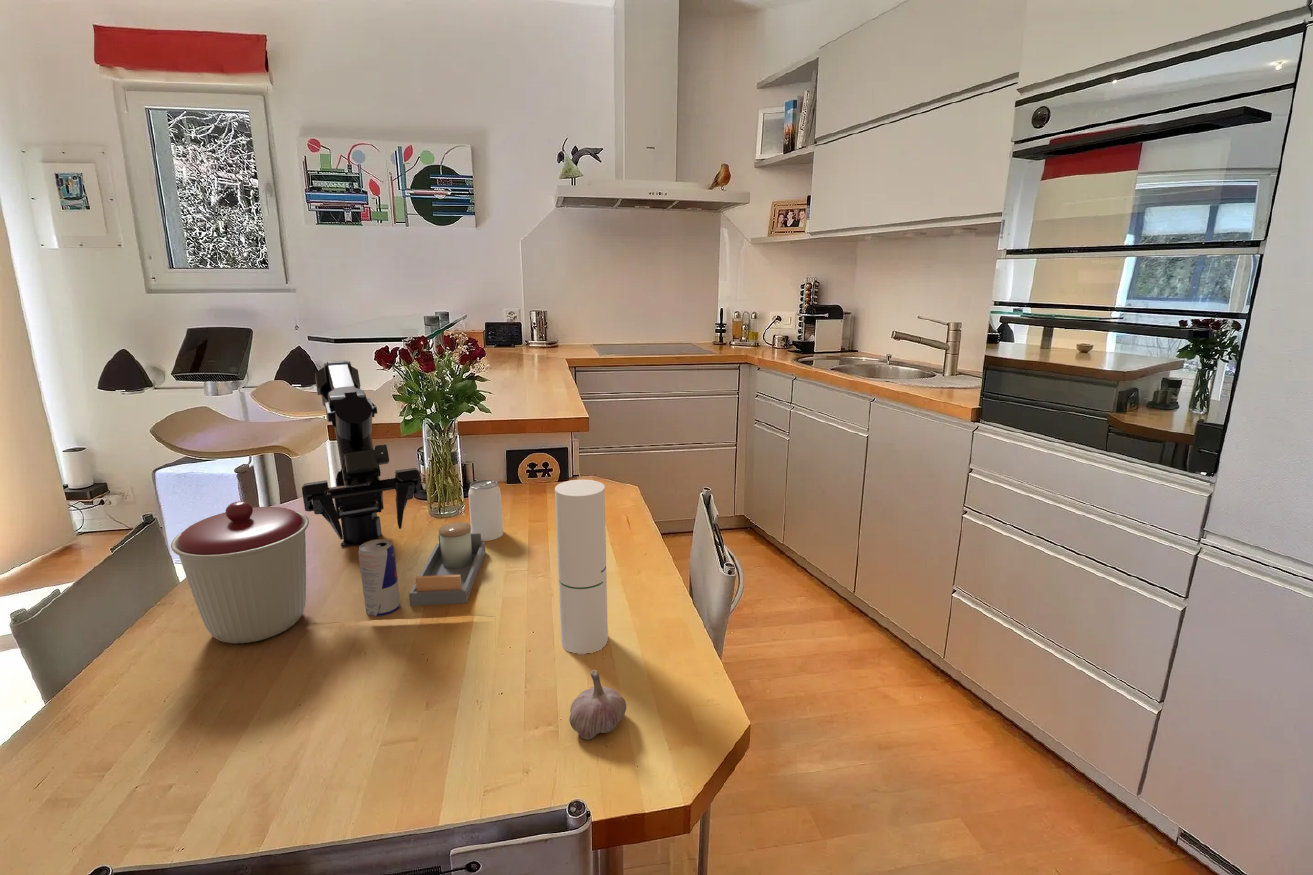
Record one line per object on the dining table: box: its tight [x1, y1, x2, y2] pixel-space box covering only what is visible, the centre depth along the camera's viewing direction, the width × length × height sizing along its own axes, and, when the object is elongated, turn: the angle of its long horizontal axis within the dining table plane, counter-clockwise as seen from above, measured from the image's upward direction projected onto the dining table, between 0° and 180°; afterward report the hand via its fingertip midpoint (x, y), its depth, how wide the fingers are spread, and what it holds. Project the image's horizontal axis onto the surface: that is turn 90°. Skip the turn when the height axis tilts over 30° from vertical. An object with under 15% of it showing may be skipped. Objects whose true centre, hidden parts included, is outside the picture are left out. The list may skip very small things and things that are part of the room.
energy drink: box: [357, 538, 401, 617], centre depth 108 cm, size 5×5×12 cm
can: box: [467, 479, 504, 542], centre depth 137 cm, size 6×6×12 cm
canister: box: [170, 500, 310, 645], centre depth 103 cm, size 18×18×21 cm
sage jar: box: [438, 521, 473, 569], centre depth 125 cm, size 6×6×7 cm
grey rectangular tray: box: [408, 533, 486, 607], centre depth 120 cm, size 9×20×5 cm, turn 5°
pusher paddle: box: [415, 575, 462, 592], centre depth 111 cm, size 7×1×4 cm, turn 95°
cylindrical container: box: [554, 479, 609, 655], centre depth 98 cm, size 7×7×25 cm
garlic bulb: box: [569, 669, 627, 741], centre depth 82 cm, size 8×7×8 cm
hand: (371, 533), depth 111 cm, fingers open, 9 cm apart
